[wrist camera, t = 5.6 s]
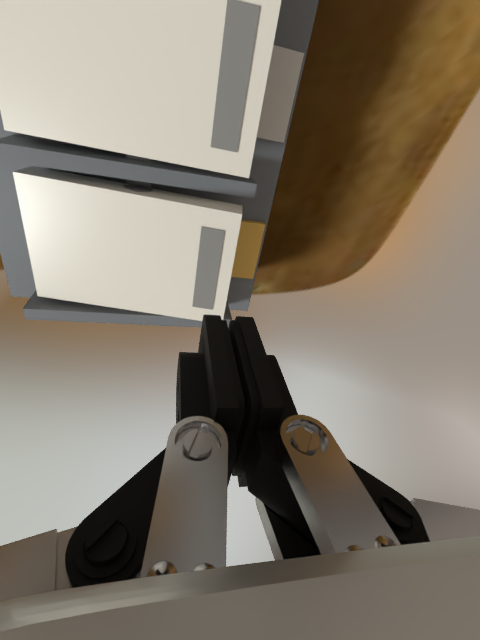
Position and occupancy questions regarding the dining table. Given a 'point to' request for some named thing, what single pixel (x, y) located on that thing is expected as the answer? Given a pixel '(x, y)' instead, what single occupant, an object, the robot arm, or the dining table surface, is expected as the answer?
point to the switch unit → (165, 184)
